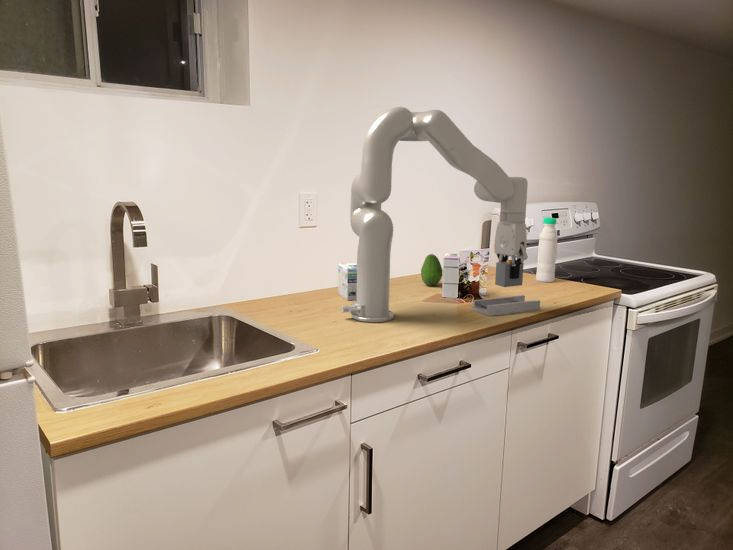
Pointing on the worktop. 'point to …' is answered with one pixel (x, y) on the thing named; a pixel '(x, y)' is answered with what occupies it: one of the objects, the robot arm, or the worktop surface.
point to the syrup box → (450, 275)
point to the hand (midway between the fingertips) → (509, 276)
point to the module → (507, 275)
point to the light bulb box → (347, 280)
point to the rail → (505, 305)
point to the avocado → (431, 270)
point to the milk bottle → (547, 251)
